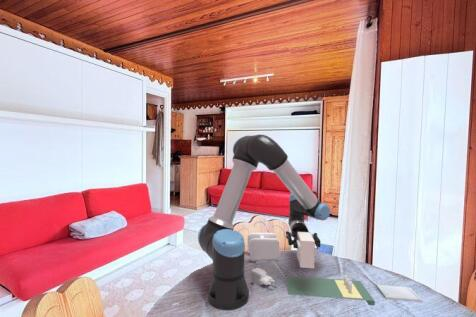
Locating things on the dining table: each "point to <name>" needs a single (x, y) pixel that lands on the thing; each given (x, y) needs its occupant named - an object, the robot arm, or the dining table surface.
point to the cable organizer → (263, 246)
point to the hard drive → (398, 293)
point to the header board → (328, 288)
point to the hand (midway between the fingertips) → (307, 250)
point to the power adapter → (261, 277)
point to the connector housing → (306, 250)
